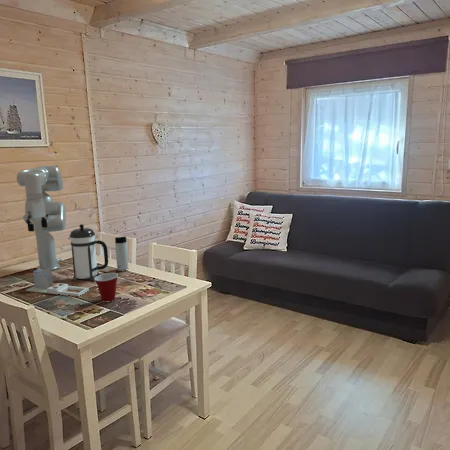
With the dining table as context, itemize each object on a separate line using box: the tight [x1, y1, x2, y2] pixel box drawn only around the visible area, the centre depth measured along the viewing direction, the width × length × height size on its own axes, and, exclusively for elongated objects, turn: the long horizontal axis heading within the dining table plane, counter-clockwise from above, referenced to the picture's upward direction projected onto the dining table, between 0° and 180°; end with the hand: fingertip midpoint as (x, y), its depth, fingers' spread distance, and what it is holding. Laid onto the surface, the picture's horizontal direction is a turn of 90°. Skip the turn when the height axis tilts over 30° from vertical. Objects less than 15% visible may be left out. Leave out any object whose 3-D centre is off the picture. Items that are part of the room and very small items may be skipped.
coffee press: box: [67, 223, 109, 282], centre depth 215 cm, size 17×16×30 cm
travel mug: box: [114, 236, 129, 272], centre depth 229 cm, size 6×7×20 cm
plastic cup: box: [93, 272, 119, 302], centre depth 186 cm, size 11×11×12 cm
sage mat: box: [25, 282, 58, 294], centre depth 204 cm, size 12×12×1 cm
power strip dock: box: [46, 282, 90, 297], centre depth 197 cm, size 8×18×3 cm, turn 73°
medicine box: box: [32, 269, 54, 288], centre depth 203 cm, size 8×4×9 cm, turn 74°
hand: (38, 229), depth 210 cm, fingers open, 9 cm apart
